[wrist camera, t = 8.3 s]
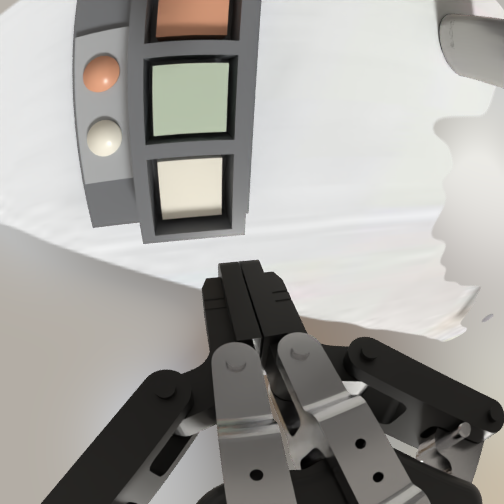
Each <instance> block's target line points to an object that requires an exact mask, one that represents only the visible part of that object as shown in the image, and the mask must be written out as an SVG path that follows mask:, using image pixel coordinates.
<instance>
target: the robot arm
mask: <svg viewBox="0 0 504 504" xmlns="http://www.w3.org/2000/svg"><path fill="white" fill-rule="evenodd" d="M439 33H440V42H441V47H442V51H443V54H444V56H445V59H446V60H447V62H448V64H449V66H450V67H451V68H452V70H453V71H454V72H455V73H456V74H458V75H460V76H463V77H467V78H471V79H475V80H478V81H482V82H485V83H488V84H492V85H495V86H498V87H501V88H504V19H499V18H492V17H484V16H475V15H462V14H448V15H446V16H445V17H444V18H443V19H442V21H441V24H440V31H439ZM202 296H203V306H204V317H205V324H206V331H207V336H208V343H209V350H210V353H209V356H208V358H207V359H206V360H205V362H204V363H203V364H202V365H200V366H199V367H197V368H195V369H193V370H191V371H188V372H186V373H183V374H180V373H179V372H176V371H173V370H159V371H156V372H154V373H152V374H151V375H149V376H148V377H147V378H146V379H145V380H144V382H143V383H142V384H141V385H140V386H139V388H138V389H137V390H136V391H135V392H134V393H133V395H132V396H131V397H130V398H129V399H128V401H127V402H126V403H125V404H124V405H123V407H122V408H121V409H120V410H119V411H118V413H117V414H116V415H115V416H114V417H113V418H112V420H111V421H110V422H109V423H108V425H107V426H106V427H105V428H104V429H103V431H102V432H101V433H100V434H99V435H98V436H97V437H96V439H95V440H94V441H93V442H92V444H91V445H90V446H89V447H88V448H87V449H86V451H85V452H84V453H83V454H82V455H81V457H80V458H79V459H78V460H77V461H76V463H75V464H74V465H73V466H72V467H71V468H70V470H69V471H68V472H67V473H66V474H65V476H64V477H63V478H62V479H61V480H60V481H59V483H58V484H57V485H56V486H55V488H54V489H53V490H52V491H51V492H50V494H49V495H48V496H47V497H46V498H45V499H44V500H43V502H42V503H41V504H148V503H149V502H150V501H151V499H152V498H153V496H154V495H155V494H156V493H157V491H158V490H159V489H160V487H161V486H162V485H163V483H164V481H165V480H166V479H167V478H168V476H169V475H170V473H171V472H172V471H173V469H174V468H175V467H176V465H177V464H178V462H179V461H180V459H181V458H182V457H183V455H184V454H185V452H186V451H187V449H188V448H189V447H190V445H191V444H192V442H193V441H194V439H195V438H196V436H197V435H198V433H199V432H200V431H202V430H205V429H207V428H209V427H211V426H213V425H215V424H217V431H218V441H219V449H220V458H221V465H222V473H223V480H224V483H223V484H221V485H219V486H217V487H215V488H213V489H212V490H211V491H209V492H207V493H206V494H205V495H204V496H203V497H202V498H201V499H200V500H199V501H198V502H197V503H196V504H482V497H481V494H480V492H479V490H478V489H477V487H476V486H475V485H473V484H472V481H473V478H474V475H475V472H476V468H477V465H478V462H479V458H480V455H481V451H482V447H483V443H484V441H485V440H486V439H487V438H489V437H491V436H492V435H494V434H495V433H497V432H498V431H499V430H500V429H501V428H502V426H503V423H504V411H503V409H502V407H501V405H500V404H499V402H497V401H496V400H494V399H492V398H490V397H488V396H486V395H484V394H482V393H480V392H478V391H476V390H474V389H472V388H470V387H468V386H466V385H463V384H462V383H459V382H457V381H455V380H453V379H451V378H449V377H447V376H445V375H443V374H441V373H440V372H438V371H436V370H433V369H432V368H430V367H428V366H426V365H424V364H422V363H420V362H418V361H416V360H414V359H412V358H410V357H408V356H406V355H404V354H402V353H400V352H399V351H396V350H395V349H393V348H391V347H389V346H387V345H385V344H383V343H381V342H379V341H377V340H375V339H373V338H370V337H360V338H357V339H355V340H354V341H352V343H351V344H350V346H349V347H344V346H343V347H342V346H329V345H324V344H321V343H320V342H319V341H318V340H317V339H316V338H314V337H313V336H311V335H309V334H308V333H307V332H306V330H305V328H304V326H303V323H302V321H301V319H300V317H299V315H298V312H297V310H296V308H295V306H294V304H293V302H292V300H291V297H290V295H289V293H288V292H287V289H286V286H285V284H284V282H283V280H282V279H281V278H280V277H279V276H278V275H276V274H275V273H274V272H265V273H264V271H263V269H262V266H261V264H260V262H259V260H250V261H239V263H238V262H230V263H219V264H218V277H217V278H207V279H206V280H205V283H204V285H203V287H202ZM264 375H267V378H268V381H269V388H268V392H269V396H270V398H271V401H272V403H273V406H274V408H275V411H276V413H277V416H278V418H279V420H280V423H281V425H282V428H283V430H284V432H285V435H286V438H287V442H288V450H289V453H290V457H291V459H292V462H293V464H294V466H295V469H296V470H289V468H288V463H287V459H286V455H285V450H284V446H283V441H282V437H281V433H280V429H279V427H278V424H277V422H276V421H275V420H274V419H273V417H272V413H271V408H270V404H269V399H268V394H267V390H266V385H265V380H264ZM385 434H387V435H389V436H392V437H394V438H396V439H398V440H400V441H402V442H404V443H406V444H408V445H411V446H413V447H415V448H417V449H418V451H417V453H416V459H415V458H412V457H411V456H409V455H407V454H404V453H403V452H401V451H399V450H397V449H395V448H392V446H391V444H390V442H389V441H388V439H387V437H386V435H385Z"/></svg>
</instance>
